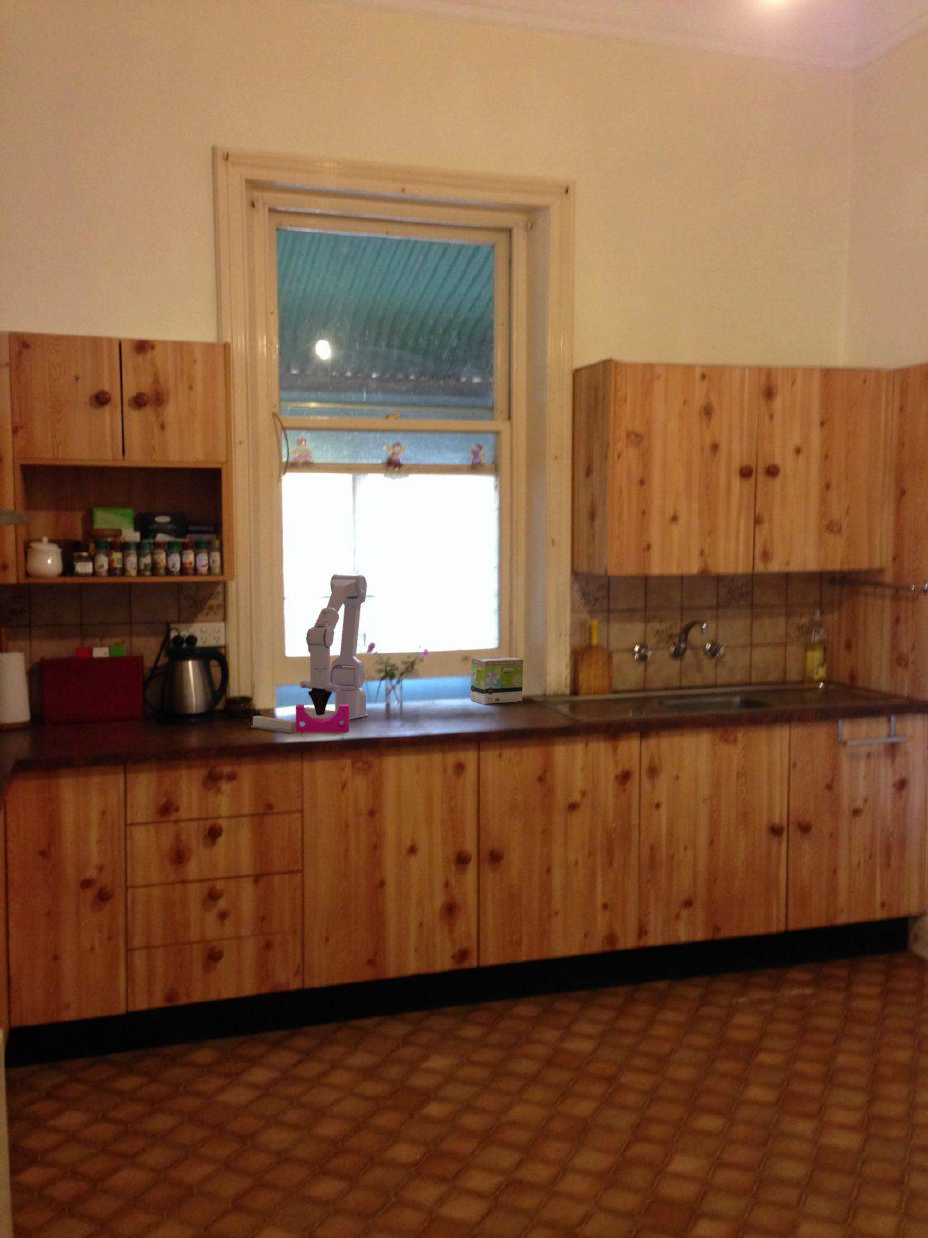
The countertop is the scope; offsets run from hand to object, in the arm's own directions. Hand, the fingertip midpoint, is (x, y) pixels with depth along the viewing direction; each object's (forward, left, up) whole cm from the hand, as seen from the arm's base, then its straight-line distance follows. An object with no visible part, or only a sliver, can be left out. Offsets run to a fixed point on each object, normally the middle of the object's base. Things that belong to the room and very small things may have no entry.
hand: (320, 714), depth 315 cm
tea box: (-73, +10, -4) cm, 74 cm away
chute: (0, -9, -4) cm, 9 cm away
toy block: (+2, +3, -4) cm, 5 cm away
